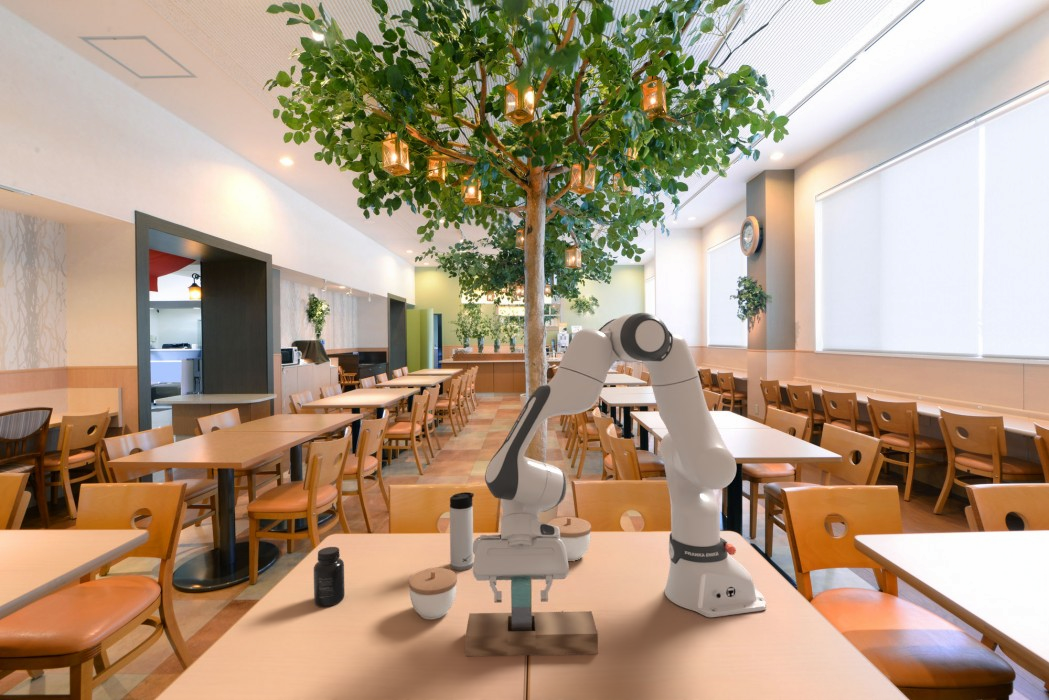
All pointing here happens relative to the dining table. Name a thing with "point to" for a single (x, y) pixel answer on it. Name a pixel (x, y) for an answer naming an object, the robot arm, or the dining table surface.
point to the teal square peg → (521, 603)
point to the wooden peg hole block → (531, 634)
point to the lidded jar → (433, 592)
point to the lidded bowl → (573, 535)
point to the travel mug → (461, 531)
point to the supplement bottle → (328, 577)
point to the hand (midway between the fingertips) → (521, 601)
